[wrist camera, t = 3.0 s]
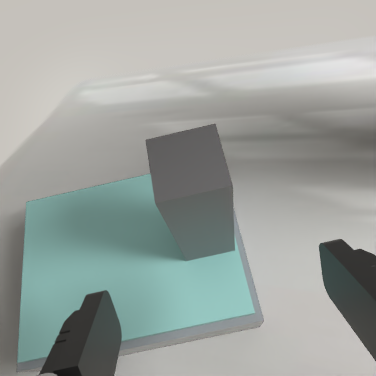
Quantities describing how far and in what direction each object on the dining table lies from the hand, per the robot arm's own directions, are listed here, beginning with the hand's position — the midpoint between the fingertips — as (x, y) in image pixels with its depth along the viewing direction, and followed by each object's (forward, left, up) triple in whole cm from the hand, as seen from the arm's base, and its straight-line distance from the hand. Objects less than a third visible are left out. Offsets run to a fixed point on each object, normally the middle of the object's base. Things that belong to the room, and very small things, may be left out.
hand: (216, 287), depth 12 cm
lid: (+2, -8, -12) cm, 15 cm away
